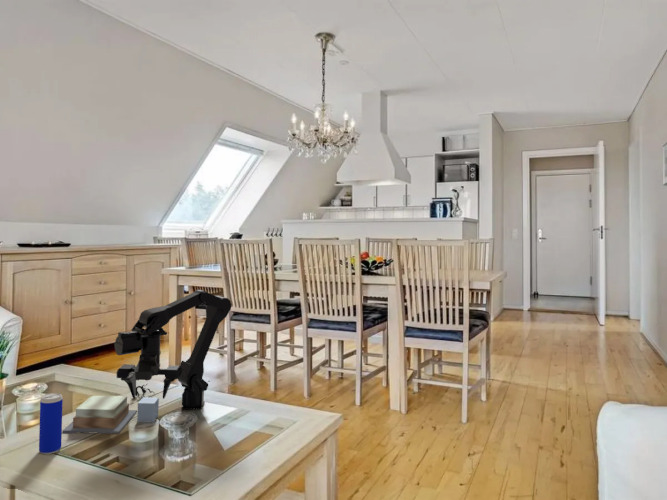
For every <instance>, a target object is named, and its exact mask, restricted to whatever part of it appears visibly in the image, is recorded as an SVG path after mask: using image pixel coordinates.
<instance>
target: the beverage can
mask: <svg viewBox="0 0 667 500" xmlns="http://www.w3.org/2000/svg"><path fill="white" fill-rule="evenodd" d="M63 399H64V398H63V395H62V394H61V393H58V392H51V393H45V394H44V395H41V399H40V401H39V402H40V403H39V430H38V431H39V437H38V439H39V440H38V451H39V452H40V453H41V454H42V455H52V453H53V454H55V452H56V453H57V452H60V450H61V448H62V439H63V438H62V436H63V435H62V434H63V433H62V432H63V428H62V427H63V401H64V400H63Z"/></svg>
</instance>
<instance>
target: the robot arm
mask: <svg viewBox="0 0 667 500" xmlns="http://www.w3.org/2000/svg"><path fill="white" fill-rule="evenodd" d="M200 304H201V305H205V306H206V307H205V316H206V317H205V319H204V320H205V321H204V324H203V325H202V328H201V330H200V332H199V335H198V338H197V339H196V342H195V345H194V347H193V349H192V351H191V354H190V356H189V358H188V359H187V360H182V361H180V364H179V365H168V367H166V368H161V361H160V359H161V353H162V352H161V337H163V336H167V335H168V332H167V331H166V330H165V329H164V328H163V327H164V326H166V325H167V324H168V323H169V322H170V320H171V319H173V318H174V317H177V316H179V315H181V314H183V313H185V312H187V311H189V310H190V309H192V308H193V309H194V307H196V306H199V305H200ZM232 305H233V304H232V303H231V300H230V299H229V298H228V297H224V296H219V295H214V294H211V293H209V292H207V291H206V290H202V289H196V290H195V291H193V292H191V293H189V294H187V295H185V296H182V297H180V298H178V299H176V300H174V301H172V302H170V303H168V304H166V305H161V306H156V307H152V308H148V309H144V310H143V311H142V312H140V315H139V317H138V320H137V321H136V322H135V323H134V325H133V327H132V328H131V329H130V331H120V332H118V333H117V337H116V338H115V341H114V343H113V344H114V350H115V353H116V355H117V356H123V355H124V356H125V355H129V354H130V355H131V354H137V353H139V352H140V354H139V358H138V359H139V360H138V363H137V364H129V363H128V364H123V365H121V366H120V367H119V368H118V369H117V370H116V378H117V379H120V380H121V381H123V382H125V383H126V384H127V386H128V388H129V391H130V394H131V397H132V399H135V398H136V397H137V396H136V387H137V381H150V380H152V378H153V377H154V376H164V379H163V391H162V400H165V398H166V396H167V394H168V390H169V388H170V385H171V383H173V382H174V381H175V380H177V381H178V382H179V383H180V385H181V387H182V388H184V389H183V392H182V394H181V406H182V407H181V410H202V409H203V407H204V406H205V405H204V404H205V400H204V399H205V391H207V390H208V387H209V383H208V382H206V380H205V379H204V378H203V376H204V372H205V369H204V367H205V366H204V362H205V359H206V357H207V355H208V352H209V350H210V347H211V345H212V342H213V340H214V337H215V335H216V332H217V330H218V328H219V325H220V324H221V323H222V322H223V321H224V320H225V319H226V317H227V316H228V315H229V313H230V311H231V310H232Z"/></svg>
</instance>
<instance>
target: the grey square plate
mask: <svg viewBox="0 0 667 500" xmlns="http://www.w3.org/2000/svg"><path fill="white" fill-rule="evenodd" d="M136 412H137V413H138V409H129V413H128V414H127V415H126V416H125V417H124V418H123V420H122V421H121V422H120V423H119V424H118V425H117V426H116V427H115V428H73V421H71V423H69V424H68V425H67V426H66V427H64V428H63V429H62V434H63V433H65V434H66V433H69V434H71V433H72V434H73V433H76V432H97V433H96V434H120V433H121V432H122V430H124V428H125V427H126V425H128V423H130V421H131V419H132V418H133V417H134V416H135V415H136V414H137V413H136ZM135 413H136V414H135ZM76 434H77V433H76Z"/></svg>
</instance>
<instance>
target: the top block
mask: <svg viewBox="0 0 667 500" xmlns="http://www.w3.org/2000/svg"><path fill="white" fill-rule="evenodd" d="M159 401H160V397H150V396H149V397H147V396H145V397H144V396H143V397H141V398H140V400H139V401H138V402H137V415H136V416H137V419H136V420H137V421H136V422H137V423H154V422H155V421H156V419H157V418H158V416H159V403H160V402H159Z"/></svg>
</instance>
